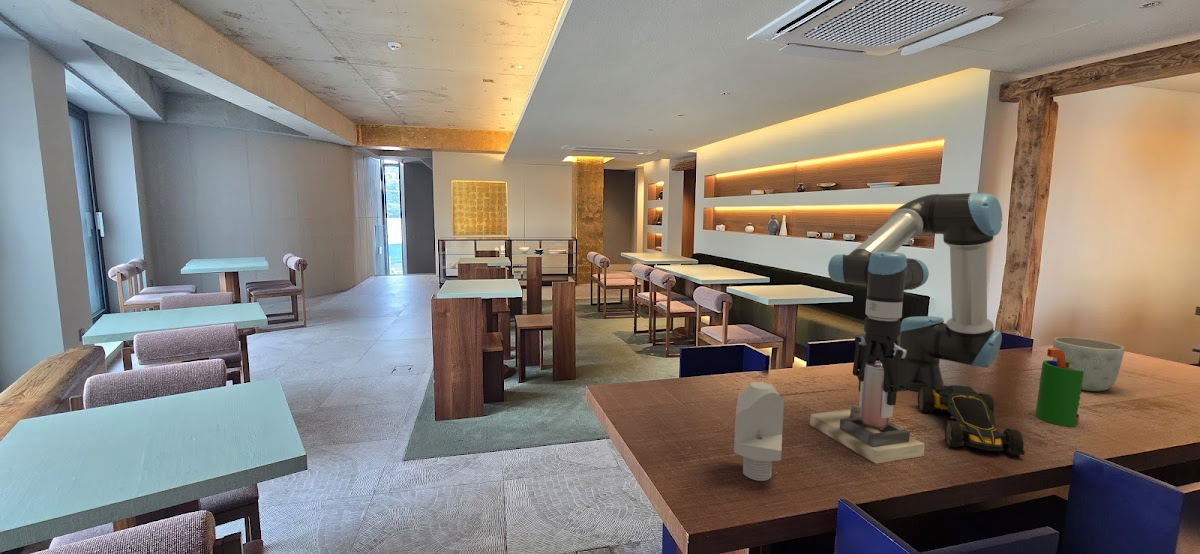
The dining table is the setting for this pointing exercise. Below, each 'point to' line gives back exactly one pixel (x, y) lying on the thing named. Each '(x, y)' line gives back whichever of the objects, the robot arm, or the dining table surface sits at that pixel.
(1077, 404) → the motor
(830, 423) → the board
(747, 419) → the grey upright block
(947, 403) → the toy car
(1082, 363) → the planter
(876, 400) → the beverage can
